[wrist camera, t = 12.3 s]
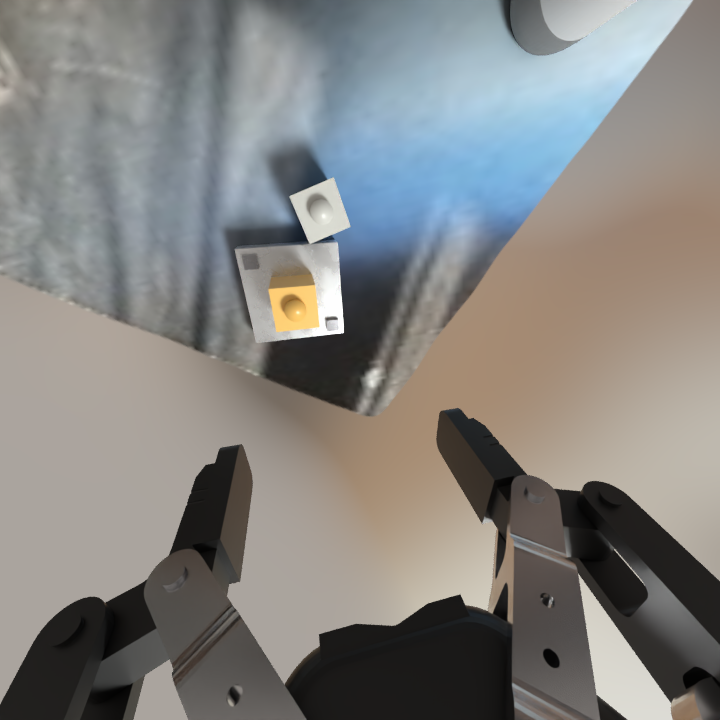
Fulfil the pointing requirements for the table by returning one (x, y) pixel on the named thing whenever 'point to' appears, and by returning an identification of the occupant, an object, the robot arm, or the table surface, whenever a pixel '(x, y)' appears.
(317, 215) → the grey cap
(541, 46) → the smart speaker
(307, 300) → the yellow knobbed cube
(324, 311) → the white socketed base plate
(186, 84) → the table surface
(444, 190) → the table surface
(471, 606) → the robot arm
